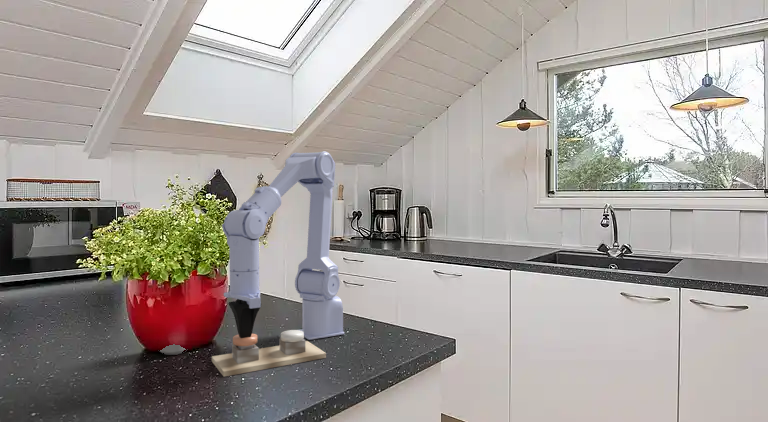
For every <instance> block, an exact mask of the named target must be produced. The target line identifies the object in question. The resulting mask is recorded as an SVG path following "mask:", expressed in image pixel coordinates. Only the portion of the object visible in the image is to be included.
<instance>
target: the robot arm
mask: <svg viewBox="0 0 768 422" xmlns="http://www.w3.org/2000/svg"><path fill="white" fill-rule="evenodd" d="M284 164H285V165H284V167H283V168H282V169H281V170H280V172H279V173H278V174H277V176H276V177H275V178H274V179H273V180H272V182H271V183H270V184H269V185H268V186H266V185H264V186H261V187H260V186H259V187H256V188H255V189H254V193H253V194H252V195H251V196H250V197H249V198H248V199H247V200H246V201H244V202H243V203H241V206H240V207H239V208H238V209H235V210H232V211H230V212H229V213H228V214H227V215H226V217H225V218H224V220H223V223H222V224H221V225H222V226H221V227H222V231H223V233H224V235H225V237H226V244H227V246H228V247H229V291H227V292H223V297H225V298H231V299H236V300H233V301H229V302H228V303H227V304H228V307H230V310H231V312H232V314H233V318H234V320H235V324H236V329H237V335H238V334H239V337H240V338H246V337H251V335H252V333H253V330H254V325H255V321H256V317H257V315H258V312H259V311H260V310H261V307H262V303H261V300H262V298H261V290H260V237H262V236H264V234H265V231H266V227H267V224H268V222H269V219H270V218H271V217H272V215H274V214H275V212H277V210H278V209H279V208H280V207H281V205H282V197H283V196H284V195H285V194H286V193H287V192H288V191H289V190H291V188H293V187H294V186H295V185H296V184H297V183H298V184H299V185H301V186H302V187H303V188H306V189H307V191H308V192H309V195H310V197H309V214H308V215H309V216H308V231H307V233H308V235H307V247H306V248H307V249H306V258H304V259H303V260H301V262H299V263H298V267H297V268H298V269H297V274H296V276H295V279H294V287H295V290H296V292H297V293H298V294H299V298H301V299H302V300H301V301H302V303H301V304H302V305H301V308H302V312H301V313H302V316H301V317H302V329H299V330H300V331H303V332H304V339H307V341H308V340H310V341H311V340H317V339H323V338H328V337H334V336H340V335H341V336H342V335H345V331H344V307H343V301H342V299H341V298H340V297H339V296H338V295H337V294H338V292H339V290H340V285H341V281H340V276H339V266H338V265H336V263H335V262H334V261H332V259H330V244H331V243H330V242H331V241H330V240H331V225H332V211H333V210H332V209H333V192H334V191H333V190H334V188H335V180H336V179H335V176H336V162H335V161H334V158H333V157H332V154H331V153H329V152H328V151H319V152H316V151H315V152H293V153H291V154H290V156H288V158H286V159H285V163H284Z"/></svg>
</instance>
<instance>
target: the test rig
mask: <svg viewBox="0 0 768 422" xmlns="http://www.w3.org/2000/svg"><path fill="white" fill-rule="evenodd" d="M278 341H279V342H278V343H279V345H275V346H268V347H261V348H260V347H258V346H257V345H256V344H253V348H248V349H242V350H239V349H238V346H236V345H233V344H232V345H231V353H226V354H225V353H224V354H219V355H212V356H211V362H212V364H213V365H214V366H215V368H217V370H218V371H219V372H220V374H221V375H222V376H223V377H230V376H235V375H242V374H245V373H251V372H257V371H262V370H267V369H274V368H277V367H283V366H290V365H295V364H300V363H305V362H310V361H311V362H312V361H315V360H316V361H317V360H321V359H326V358H327V352H325V351H323V350H322V349H321V348H319V346H318V347H317V346H316V345H315V344H313V343H311V342H310V341H308V340H306V339H305V338H304V339H303V340H301V341H297V342H284V341H282V340H281V337H279V340H278Z"/></svg>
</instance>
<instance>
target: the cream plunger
mask: <svg viewBox="0 0 768 422" xmlns="http://www.w3.org/2000/svg"><path fill="white" fill-rule="evenodd" d="M280 338H281V340H282V341H284V342H297V341H301V340H303V339H304V340H305V337H304V332H303V331H300V329H291V330H290V329H289V330H284V331H282V332H281V333H280Z"/></svg>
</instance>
